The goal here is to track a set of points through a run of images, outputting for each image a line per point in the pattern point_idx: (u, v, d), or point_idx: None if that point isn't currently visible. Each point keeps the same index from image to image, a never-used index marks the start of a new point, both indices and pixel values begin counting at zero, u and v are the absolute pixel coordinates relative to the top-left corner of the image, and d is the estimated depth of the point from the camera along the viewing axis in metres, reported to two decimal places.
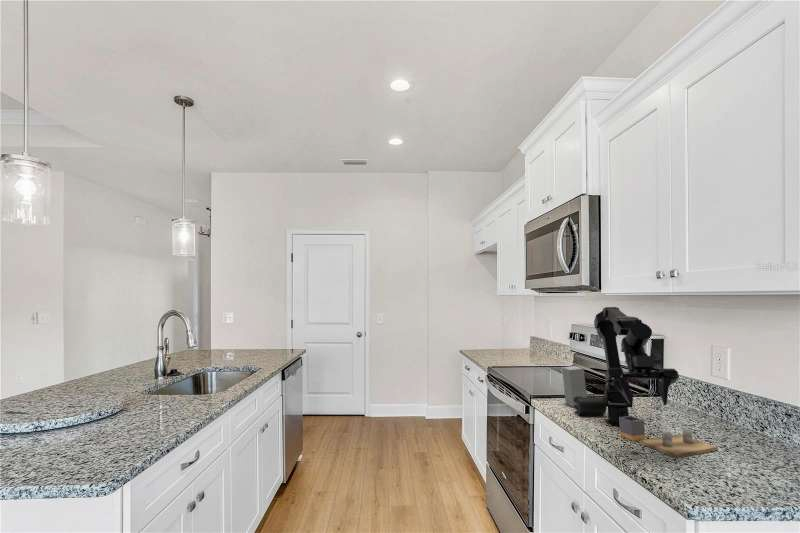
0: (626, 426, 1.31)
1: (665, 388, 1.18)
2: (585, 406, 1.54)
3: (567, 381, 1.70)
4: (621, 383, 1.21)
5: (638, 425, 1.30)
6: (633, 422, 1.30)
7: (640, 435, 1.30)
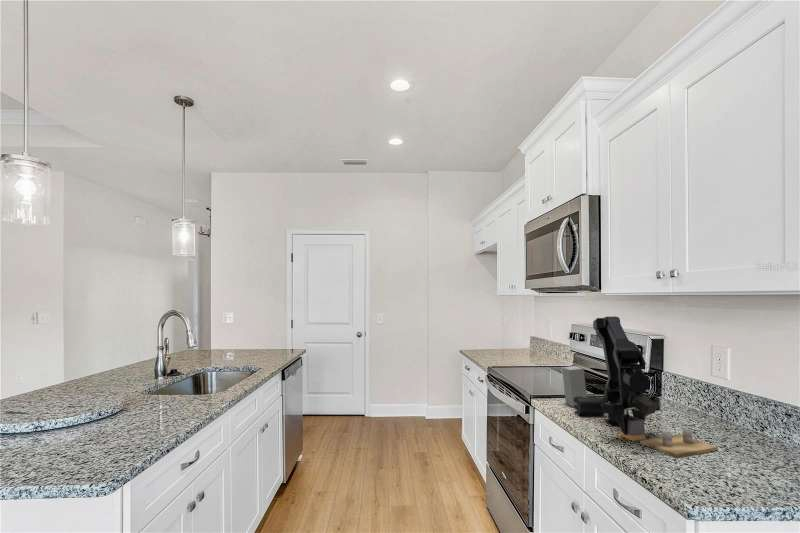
0: None
1: None
2: (585, 406, 1.54)
3: (567, 381, 1.70)
4: (624, 419, 1.30)
5: (638, 425, 1.30)
6: (633, 422, 1.30)
7: (640, 435, 1.30)
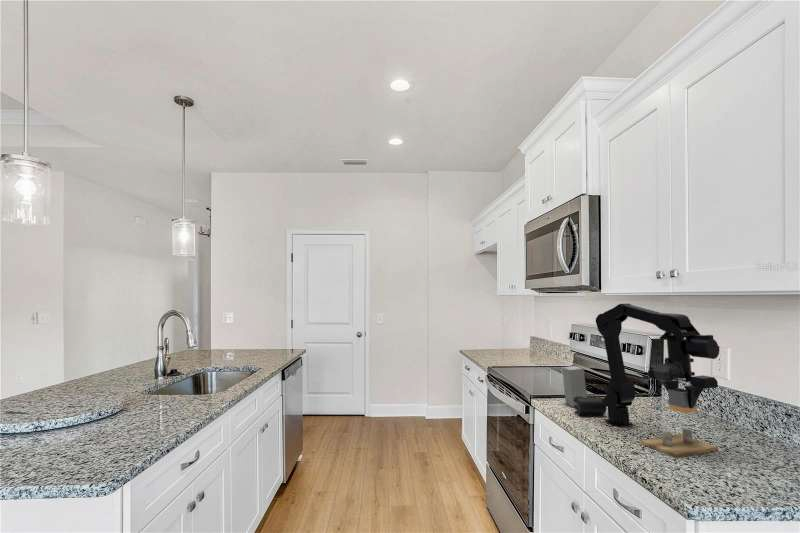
0: None
1: (689, 394, 1.22)
2: (585, 406, 1.54)
3: (567, 381, 1.70)
4: None
5: (676, 396, 1.25)
6: (670, 391, 1.27)
7: (678, 407, 1.24)
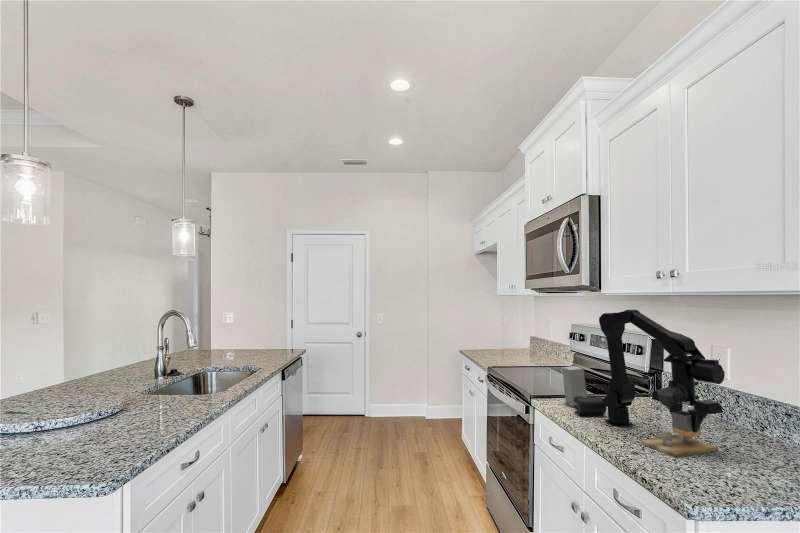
0: None
1: (693, 418, 1.22)
2: (585, 406, 1.54)
3: (567, 381, 1.70)
4: (668, 408, 1.29)
5: (680, 419, 1.24)
6: (674, 414, 1.26)
7: (682, 430, 1.23)
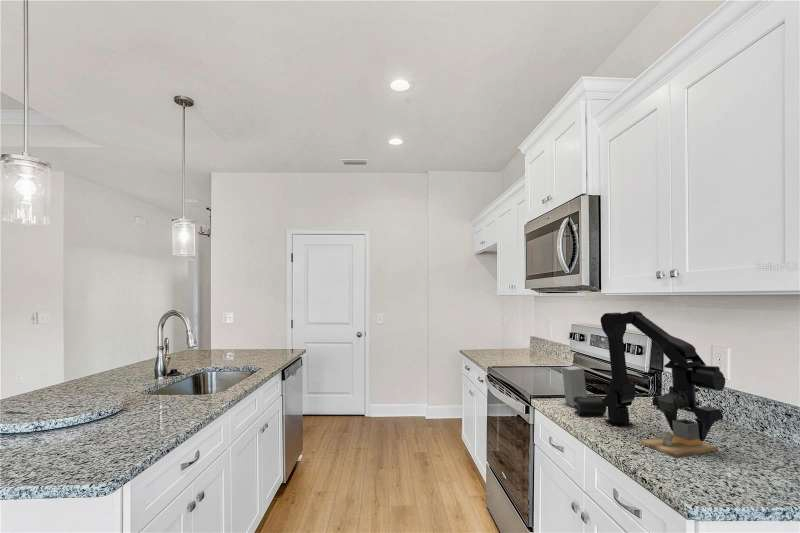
0: None
1: (699, 427, 1.20)
2: (585, 406, 1.54)
3: (567, 381, 1.70)
4: (663, 412, 1.31)
5: (680, 428, 1.24)
6: (674, 422, 1.26)
7: (683, 439, 1.23)
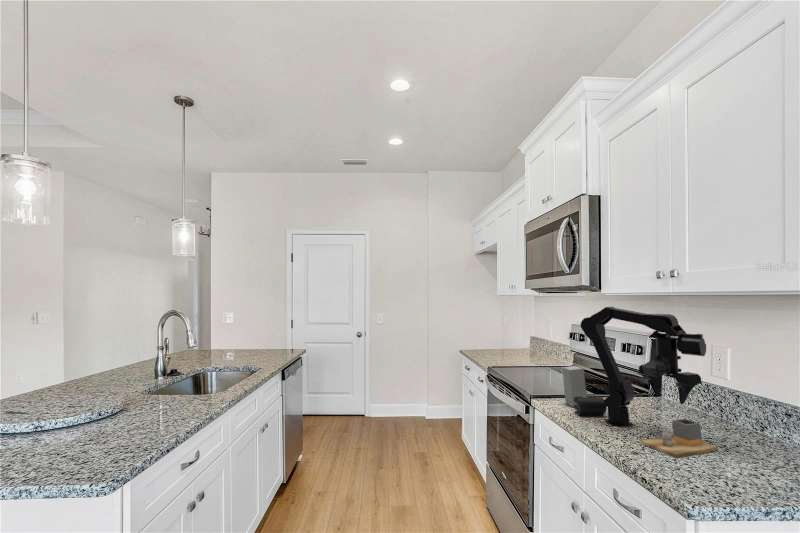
0: None
1: (680, 391, 1.29)
2: (585, 406, 1.54)
3: (567, 381, 1.70)
4: (648, 379, 1.40)
5: (680, 428, 1.24)
6: (674, 422, 1.26)
7: (683, 439, 1.23)
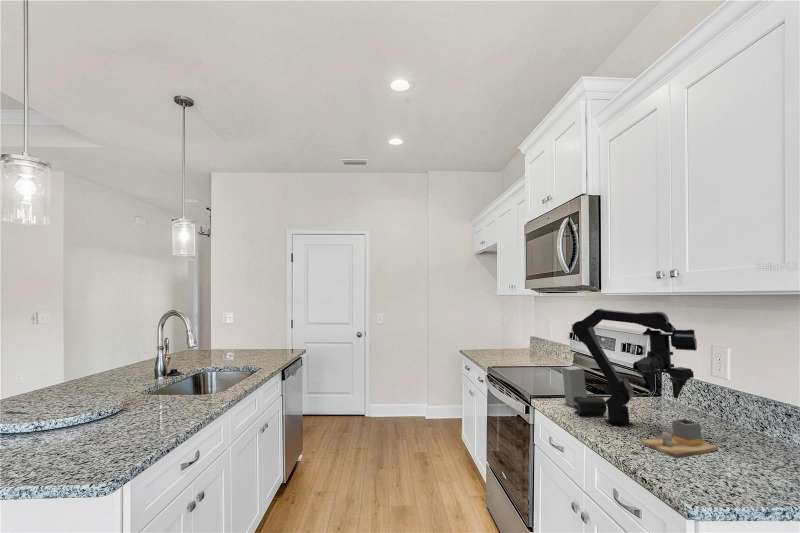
0: None
1: (673, 385, 1.33)
2: (585, 406, 1.54)
3: (567, 381, 1.70)
4: (642, 375, 1.44)
5: (680, 428, 1.24)
6: (674, 422, 1.26)
7: (683, 439, 1.23)
